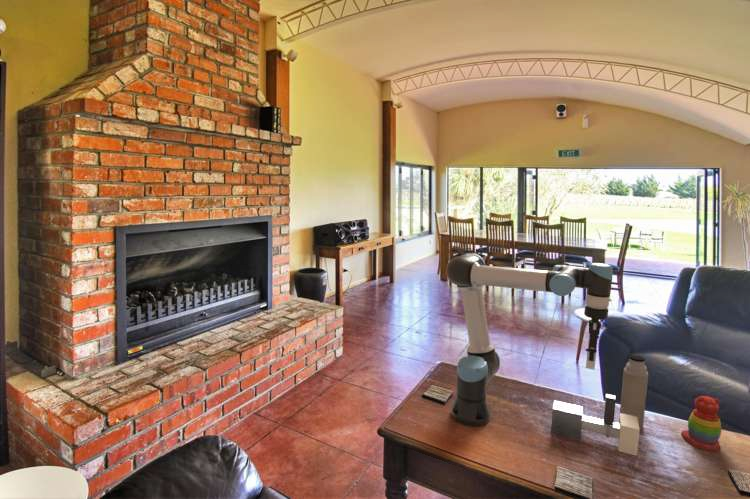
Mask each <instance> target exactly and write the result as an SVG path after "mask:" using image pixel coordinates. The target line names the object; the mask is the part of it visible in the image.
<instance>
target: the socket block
mask: <svg viewBox="0 0 750 499" xmlns="http://www.w3.org/2000/svg"><path fill="white" fill-rule="evenodd" d="M618 416H619V417H618V423H620V436H619V438H616V439H617V448H618V452H620V453H625V454H628V455H632V456H637V455H638V449H639V442H640V441H639V440H640V432H641V431H640V429H639V424H638V418H637V417H636V416H632V415H627V414H622V413H620V412H619V415H618Z"/></svg>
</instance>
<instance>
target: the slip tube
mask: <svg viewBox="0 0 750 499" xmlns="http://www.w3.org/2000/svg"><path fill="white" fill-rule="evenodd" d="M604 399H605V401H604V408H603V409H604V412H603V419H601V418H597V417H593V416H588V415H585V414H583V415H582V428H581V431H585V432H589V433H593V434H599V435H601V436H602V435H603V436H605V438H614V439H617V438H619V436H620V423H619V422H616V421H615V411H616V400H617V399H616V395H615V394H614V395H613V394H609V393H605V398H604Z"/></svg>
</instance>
